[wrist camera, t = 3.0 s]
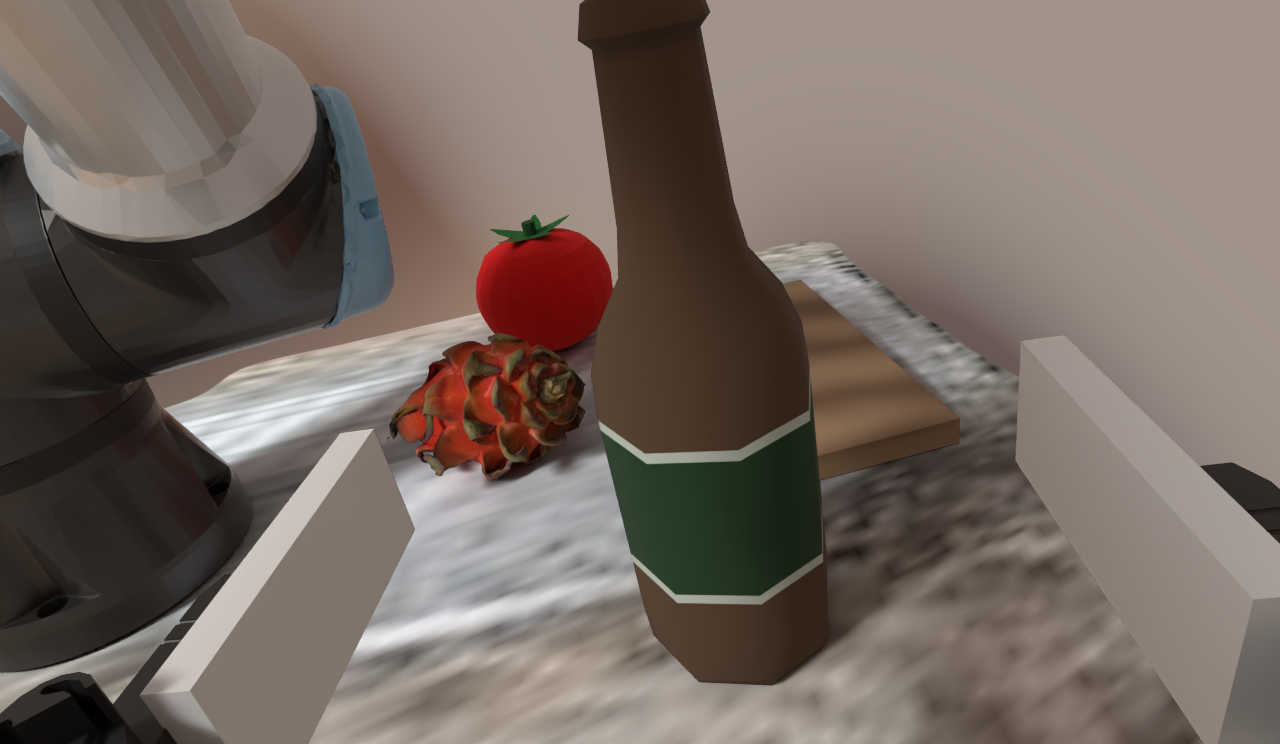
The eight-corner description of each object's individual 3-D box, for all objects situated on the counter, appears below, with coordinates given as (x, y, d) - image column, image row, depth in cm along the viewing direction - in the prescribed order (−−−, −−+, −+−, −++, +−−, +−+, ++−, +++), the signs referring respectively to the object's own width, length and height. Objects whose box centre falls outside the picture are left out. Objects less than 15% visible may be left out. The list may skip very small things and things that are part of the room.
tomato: (588, 378, 53) (555, 245, 49) (469, 373, 58) (428, 250, 53) (643, 314, 61) (620, 195, 57) (535, 314, 66) (505, 203, 61)
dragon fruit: (619, 469, 45) (439, 521, 47) (595, 349, 49) (430, 401, 51) (571, 422, 38) (359, 485, 40) (548, 284, 42) (356, 347, 44)
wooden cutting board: (959, 442, 39) (959, 418, 38) (701, 512, 38) (696, 488, 37) (802, 297, 58) (800, 279, 58) (628, 340, 57) (624, 323, 57)
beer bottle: (795, 535, 35) (731, -37, 24) (872, 662, 28) (830, -55, 17) (636, 579, 35) (495, 13, 24) (674, 721, 28) (500, 15, 17)
